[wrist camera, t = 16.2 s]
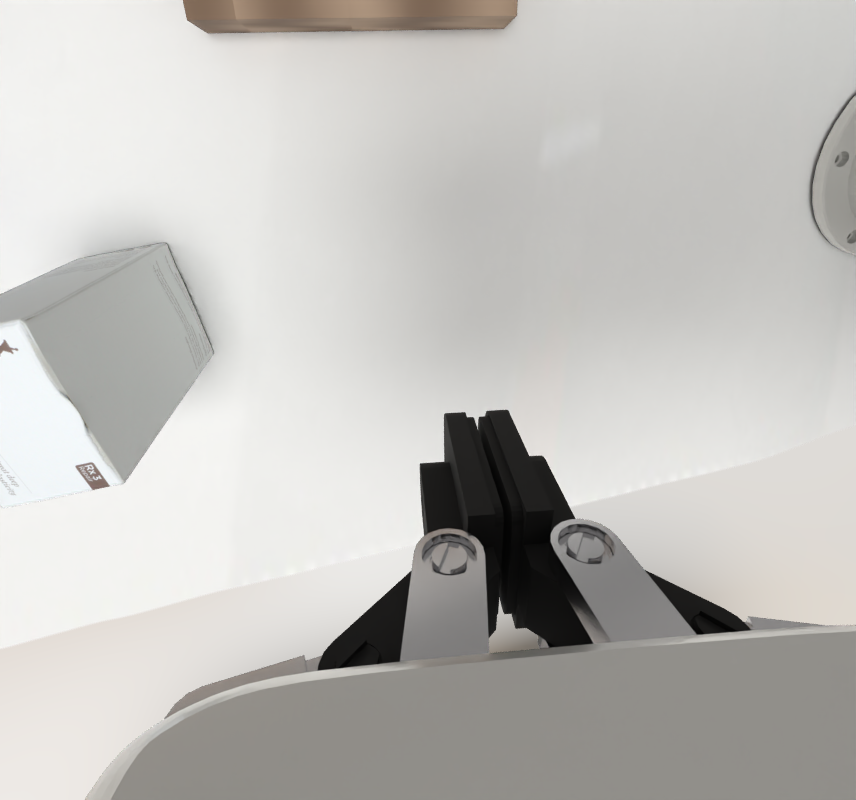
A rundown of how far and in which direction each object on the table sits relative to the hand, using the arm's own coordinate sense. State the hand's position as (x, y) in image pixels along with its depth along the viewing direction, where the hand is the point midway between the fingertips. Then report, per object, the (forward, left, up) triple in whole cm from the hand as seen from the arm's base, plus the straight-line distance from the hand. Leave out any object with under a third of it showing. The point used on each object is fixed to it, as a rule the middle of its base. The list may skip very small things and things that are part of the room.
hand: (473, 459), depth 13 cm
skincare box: (+18, +2, -22) cm, 29 cm away
